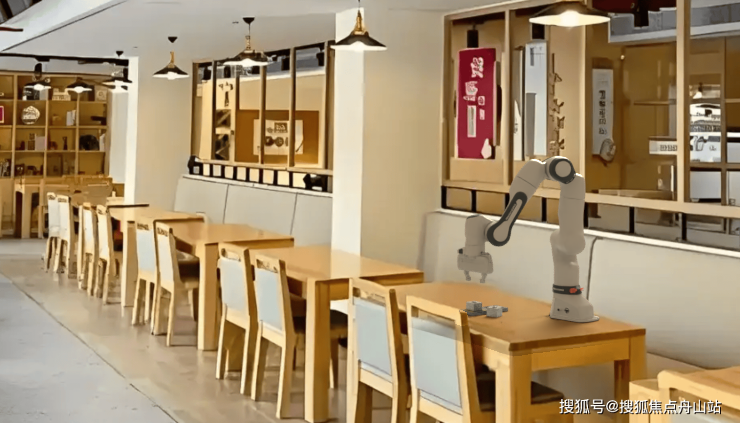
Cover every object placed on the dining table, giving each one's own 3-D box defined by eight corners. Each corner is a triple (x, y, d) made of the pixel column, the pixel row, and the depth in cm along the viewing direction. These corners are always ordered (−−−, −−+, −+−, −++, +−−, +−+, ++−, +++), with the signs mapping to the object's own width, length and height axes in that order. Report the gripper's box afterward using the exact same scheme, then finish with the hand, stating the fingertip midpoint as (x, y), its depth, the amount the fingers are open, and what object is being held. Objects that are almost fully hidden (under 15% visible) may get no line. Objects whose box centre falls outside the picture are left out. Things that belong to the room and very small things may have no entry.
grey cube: (482, 313, 387) (482, 302, 387) (473, 314, 384) (473, 303, 384) (474, 311, 391) (474, 300, 391) (466, 312, 388) (466, 301, 388)
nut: (502, 318, 383) (502, 306, 383) (496, 319, 379) (497, 308, 379) (491, 316, 386) (492, 305, 386) (486, 318, 382) (486, 307, 382)
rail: (508, 313, 394) (508, 307, 394) (471, 318, 382) (471, 312, 382) (495, 310, 401) (495, 304, 401) (459, 315, 388) (459, 309, 388)
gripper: (496, 252, 379) (496, 283, 380) (465, 248, 396) (465, 278, 397) (485, 253, 375) (486, 285, 376) (454, 249, 392) (455, 279, 393)
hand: (475, 281), depth 387 cm, fingers open, 8 cm apart
